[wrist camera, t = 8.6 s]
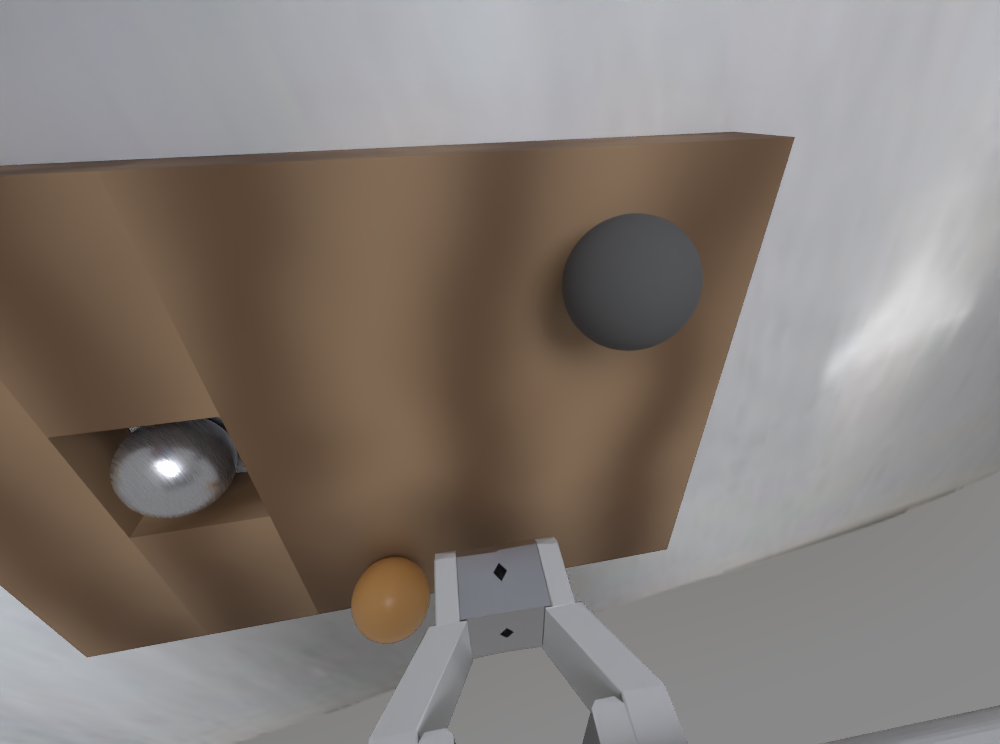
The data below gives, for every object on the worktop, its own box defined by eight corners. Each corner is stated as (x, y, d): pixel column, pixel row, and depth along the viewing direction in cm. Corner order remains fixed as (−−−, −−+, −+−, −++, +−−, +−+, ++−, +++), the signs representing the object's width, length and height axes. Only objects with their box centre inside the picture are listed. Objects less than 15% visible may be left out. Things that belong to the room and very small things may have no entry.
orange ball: (424, 535, 17) (426, 608, 15) (432, 577, 19) (435, 650, 16) (348, 548, 17) (337, 625, 14) (363, 590, 18) (356, 666, 16)
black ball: (669, 197, 11) (754, 227, 9) (648, 311, 13) (713, 367, 10) (548, 205, 11) (596, 240, 8) (545, 322, 13) (582, 384, 10)
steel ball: (238, 415, 14) (117, 484, 11) (270, 485, 16) (172, 558, 13) (183, 384, 15) (65, 440, 13) (219, 452, 17) (122, 512, 15)
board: (734, 131, 13) (794, 137, 11) (643, 509, 23) (666, 549, 21) (-279, 178, 10) (-465, 198, 8) (121, 598, 20) (86, 657, 17)
